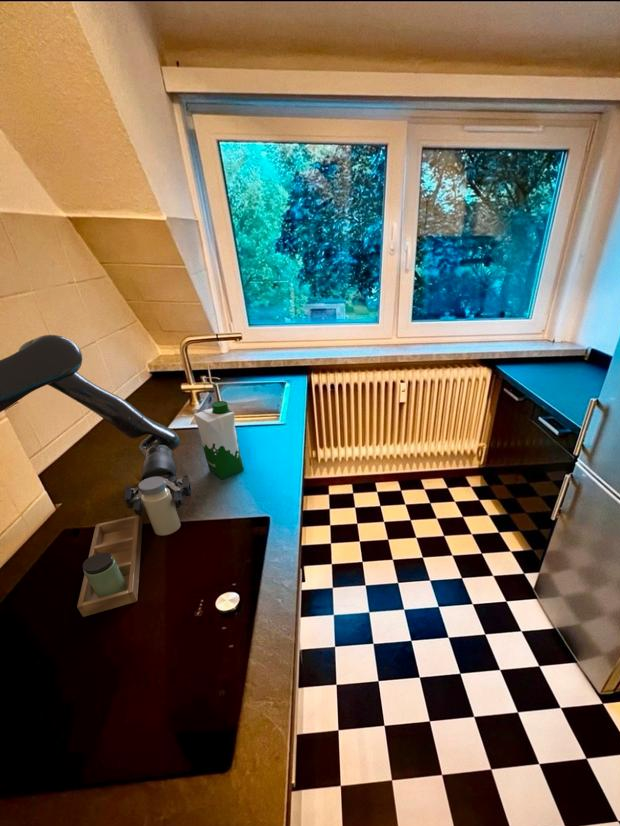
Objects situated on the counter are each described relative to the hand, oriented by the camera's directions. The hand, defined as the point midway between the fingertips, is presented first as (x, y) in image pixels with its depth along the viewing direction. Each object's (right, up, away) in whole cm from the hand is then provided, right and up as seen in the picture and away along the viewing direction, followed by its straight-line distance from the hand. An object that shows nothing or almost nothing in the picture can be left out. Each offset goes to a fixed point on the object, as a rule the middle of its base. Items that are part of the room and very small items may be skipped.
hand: (158, 508), depth 85 cm
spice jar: (-3, -15, -10) cm, 19 cm away
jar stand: (-6, -12, -4) cm, 14 cm away
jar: (-1, -5, +6) cm, 8 cm away
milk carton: (+5, +9, +28) cm, 30 cm away
